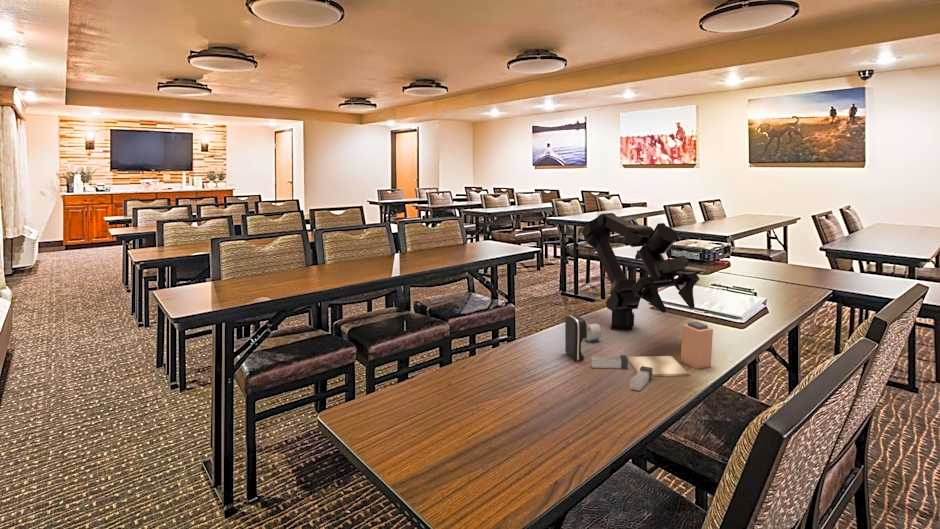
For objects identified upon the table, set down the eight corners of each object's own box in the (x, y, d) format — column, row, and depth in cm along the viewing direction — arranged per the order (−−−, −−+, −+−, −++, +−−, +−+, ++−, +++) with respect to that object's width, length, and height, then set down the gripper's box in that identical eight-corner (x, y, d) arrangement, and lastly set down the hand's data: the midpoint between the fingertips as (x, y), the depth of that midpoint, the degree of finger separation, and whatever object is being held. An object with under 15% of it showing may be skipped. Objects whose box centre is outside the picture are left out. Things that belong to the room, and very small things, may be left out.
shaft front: (641, 375, 131) (642, 365, 131) (652, 378, 130) (652, 368, 129) (629, 388, 124) (629, 378, 124) (640, 391, 123) (640, 380, 122)
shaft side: (625, 364, 138) (625, 355, 138) (627, 368, 136) (627, 359, 135) (590, 364, 139) (591, 355, 139) (592, 368, 137) (592, 358, 136)
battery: (588, 360, 142) (588, 319, 140) (575, 361, 142) (575, 321, 139) (577, 351, 149) (577, 312, 147) (564, 353, 148) (564, 314, 146)
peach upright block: (680, 360, 140) (682, 321, 138) (694, 358, 142) (696, 319, 139) (696, 368, 135) (699, 328, 133) (710, 366, 136) (713, 326, 134)
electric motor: (577, 338, 160) (577, 322, 159) (591, 336, 162) (591, 320, 161) (589, 345, 154) (589, 329, 153) (603, 343, 155) (603, 327, 154)
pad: (639, 376, 131) (640, 374, 131) (626, 359, 142) (626, 356, 142) (688, 375, 130) (688, 373, 130) (671, 358, 142) (671, 355, 142)
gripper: (639, 248, 141) (664, 298, 133) (696, 243, 147) (724, 290, 139) (621, 272, 150) (644, 319, 142) (676, 266, 156) (701, 312, 148)
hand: (679, 310), depth 142 cm, fingers open, 9 cm apart
